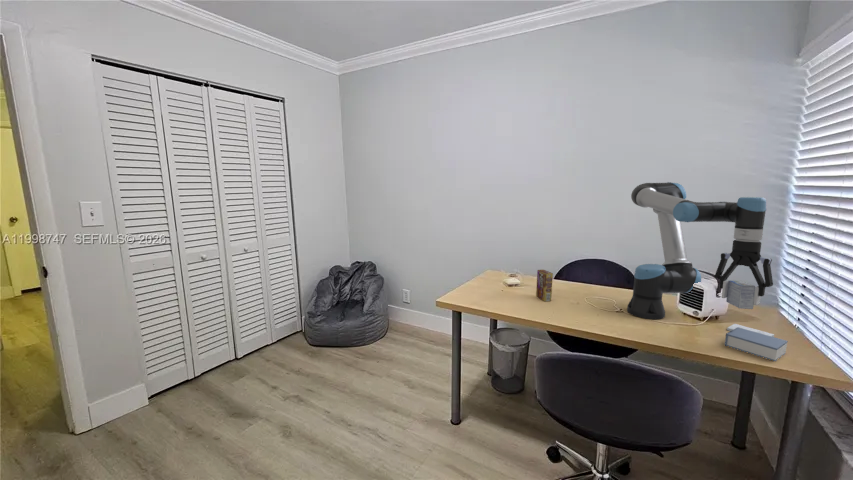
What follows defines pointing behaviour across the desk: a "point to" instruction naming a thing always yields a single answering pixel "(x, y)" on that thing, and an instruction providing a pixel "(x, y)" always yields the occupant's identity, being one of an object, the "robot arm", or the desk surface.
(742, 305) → the medicine box
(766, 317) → the desk surface
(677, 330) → the desk surface
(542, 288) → the candy box
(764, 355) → the book
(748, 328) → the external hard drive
